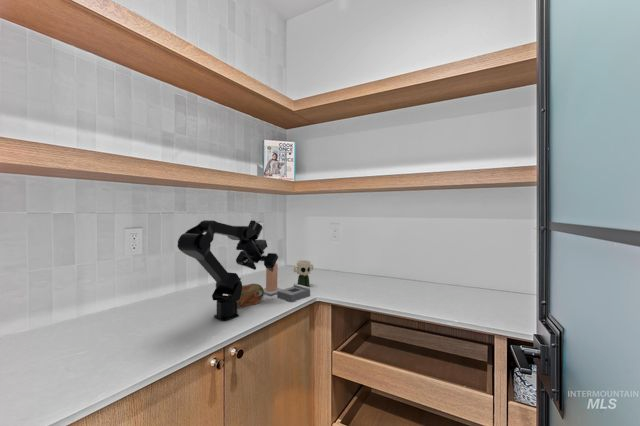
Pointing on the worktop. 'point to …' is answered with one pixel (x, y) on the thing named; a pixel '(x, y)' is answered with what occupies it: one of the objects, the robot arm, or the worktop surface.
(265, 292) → the mat
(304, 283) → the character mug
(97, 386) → the worktop surface
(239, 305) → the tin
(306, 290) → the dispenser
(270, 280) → the tan rectangular block
